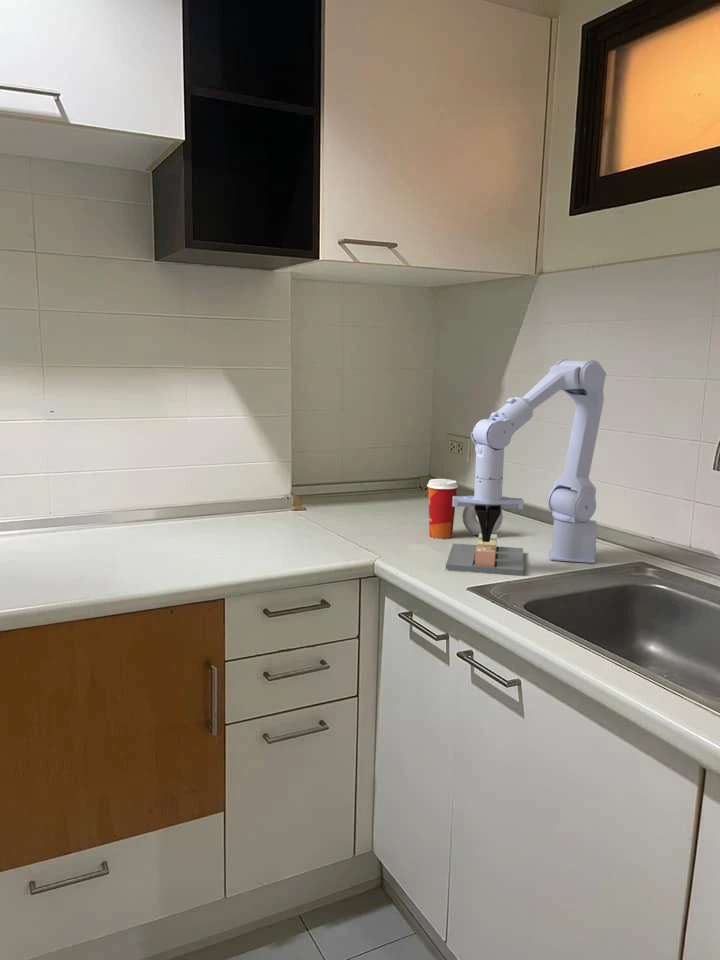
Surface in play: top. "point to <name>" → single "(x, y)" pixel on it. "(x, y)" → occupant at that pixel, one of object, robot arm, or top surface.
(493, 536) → the tile one pip
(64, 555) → the top surface
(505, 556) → the grey slotted tray
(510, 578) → the top surface
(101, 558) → the top surface
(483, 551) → the tile three pips
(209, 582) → the top surface
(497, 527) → the donut
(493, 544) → the tile two pips
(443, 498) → the paper cup
